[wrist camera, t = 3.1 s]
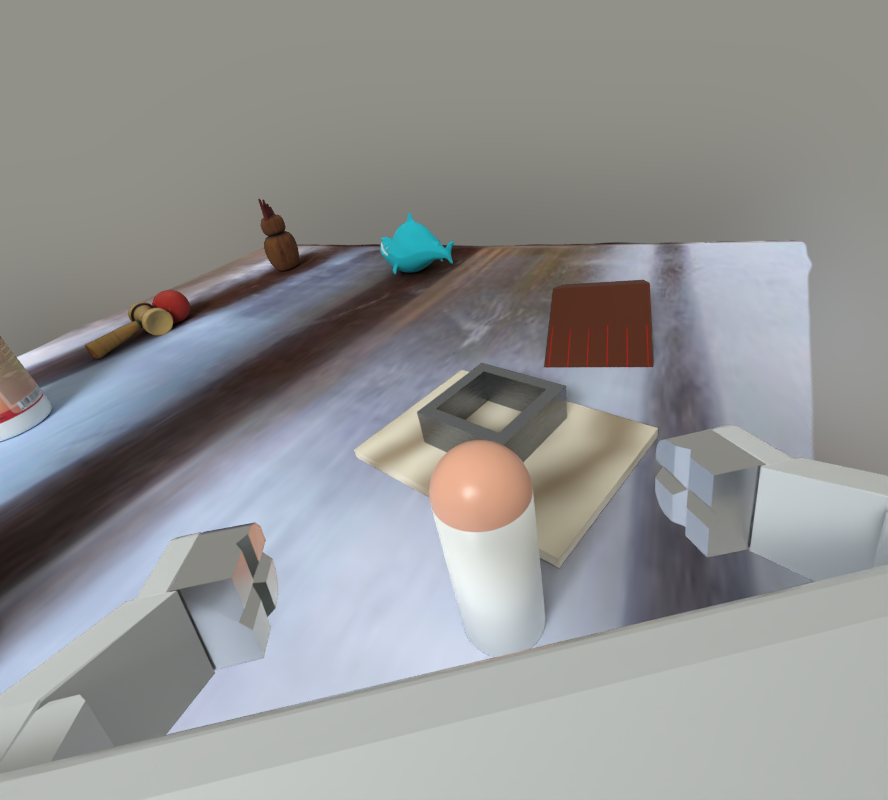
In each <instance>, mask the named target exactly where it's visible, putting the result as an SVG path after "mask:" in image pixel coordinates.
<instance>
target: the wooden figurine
mask: <svg viewBox="0 0 888 800" xmlns="http://www.w3.org/2000/svg"><path fill="white" fill-rule="evenodd" d="M259 203H260V206H261V209H262V213H263V216H264V218H263V219H262V220H261V228H262V230H263V232H264V234H265V235H267V236H268V237H267V238H266V240H265V242H264V249H265V252H266V255H267V257H268V259H269V261H270V263H271V264H272V265H273V266H274V267H275V268H276V269H277V270H279V271H287V270H290V269H293V268H294V267H296V266H297V265H298V263H299V252H298V247H297V244H296V241H295V239H294V237H293V236H292V235H291V234H290V233H289V232H286V231H284V230H285V223H284V221H283V219H282V217H281V216H279V215H275V214H274V212H273V210H272V208H271V207H269V205H268V204H265V201H264V200H263V204H262V202H261V200H260V199H259ZM263 205H264V206H263Z"/></svg>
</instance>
